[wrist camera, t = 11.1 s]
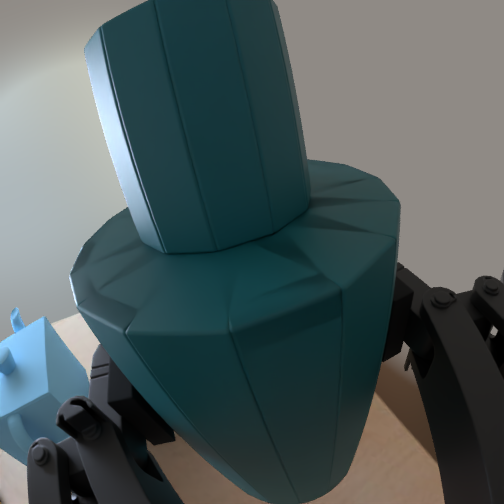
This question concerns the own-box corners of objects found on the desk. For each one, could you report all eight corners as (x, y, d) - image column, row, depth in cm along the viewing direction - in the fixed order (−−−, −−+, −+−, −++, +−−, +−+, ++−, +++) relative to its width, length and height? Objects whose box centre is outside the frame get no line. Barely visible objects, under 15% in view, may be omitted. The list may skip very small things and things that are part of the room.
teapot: (126, 469, 22) (37, 401, 15) (55, 498, 17) (-38, 439, 10) (85, 351, 38) (38, 280, 31) (34, 379, 33) (-17, 314, 26)
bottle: (322, 382, 17) (280, 38, 8) (375, 470, 11) (461, -20, 2) (216, 420, 16) (66, 94, 7) (248, 521, 10) (-101, 94, 1)
